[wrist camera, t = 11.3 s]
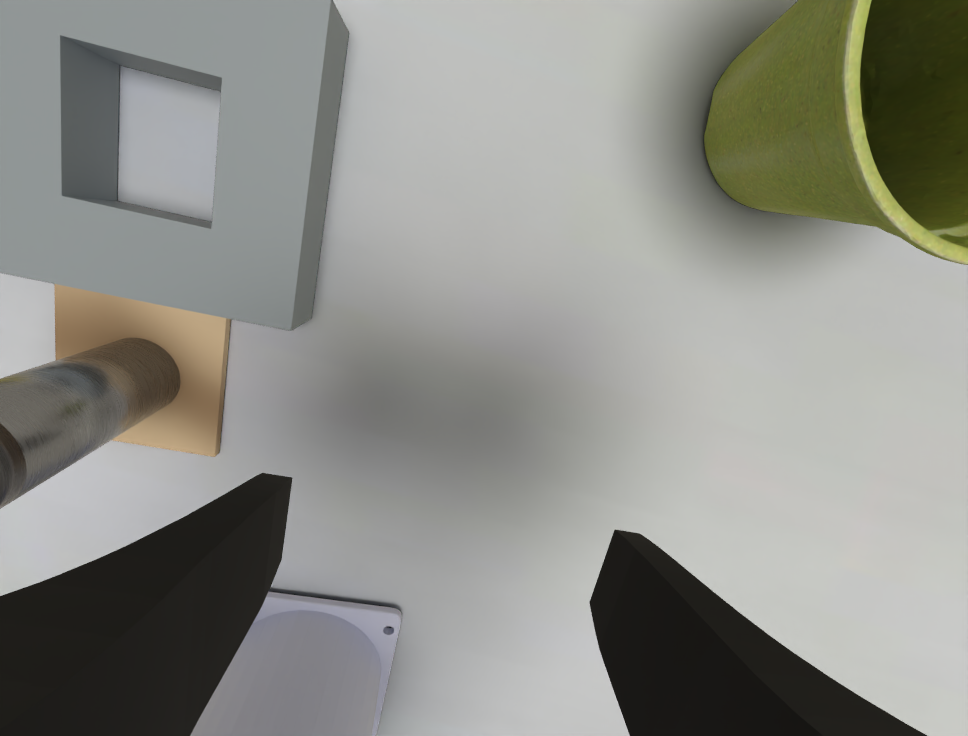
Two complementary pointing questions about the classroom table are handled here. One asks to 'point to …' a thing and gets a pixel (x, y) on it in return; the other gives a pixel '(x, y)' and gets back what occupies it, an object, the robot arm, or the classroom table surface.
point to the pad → (179, 332)
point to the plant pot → (852, 119)
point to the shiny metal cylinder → (77, 408)
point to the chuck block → (239, 162)
